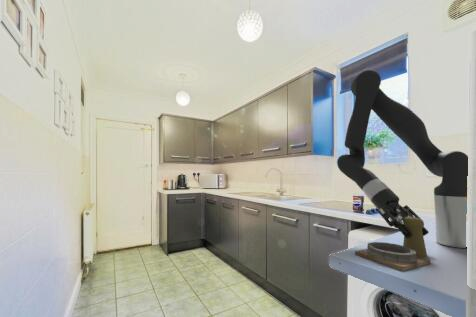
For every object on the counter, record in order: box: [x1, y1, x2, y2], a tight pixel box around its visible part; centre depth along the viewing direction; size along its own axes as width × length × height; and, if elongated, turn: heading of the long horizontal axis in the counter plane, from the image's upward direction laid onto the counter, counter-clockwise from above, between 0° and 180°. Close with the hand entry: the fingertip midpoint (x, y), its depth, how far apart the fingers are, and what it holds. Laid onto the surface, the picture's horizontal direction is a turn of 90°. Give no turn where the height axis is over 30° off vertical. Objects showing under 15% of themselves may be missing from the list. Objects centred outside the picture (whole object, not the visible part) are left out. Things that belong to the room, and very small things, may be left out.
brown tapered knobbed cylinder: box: [402, 216, 428, 258], centre depth 70 cm, size 6×6×11 cm
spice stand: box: [354, 241, 431, 272], centre depth 65 cm, size 13×13×3 cm
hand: (418, 235), depth 69 cm, fingers open, 8 cm apart
